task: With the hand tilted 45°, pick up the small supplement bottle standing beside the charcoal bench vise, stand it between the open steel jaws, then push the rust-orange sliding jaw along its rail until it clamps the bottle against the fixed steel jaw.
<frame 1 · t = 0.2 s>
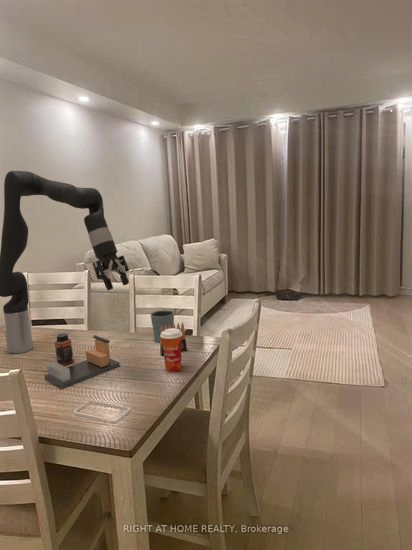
hand: (118, 287, 138), 31 cm above the table, tool tilted 20°, fingers open, 8 cm apart
paper cup: (173, 369, 143), on the table
supplement bottle: (65, 363, 153), on the table
sliding jaw: (98, 350, 147), point 6 cm above the table, slide at 0.0 cm
phone case: (102, 414, 115), on the table
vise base: (79, 374, 142), on the table
ammunition clip: (173, 353, 158), on the table
green embossed pot: (164, 340, 174), on the table
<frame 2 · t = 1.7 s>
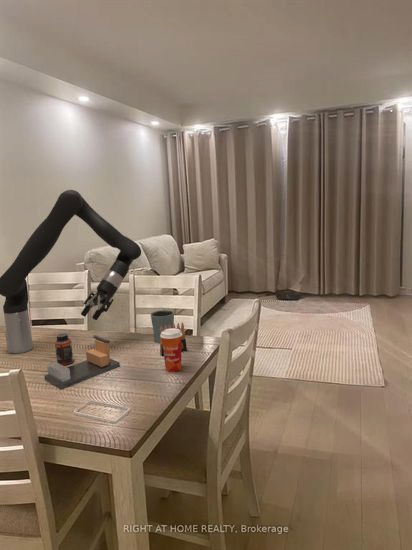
hand: (88, 317, 158), 15 cm above the table, tool tilted 45°, fingers open, 8 cm apart
nothing on the table moved.
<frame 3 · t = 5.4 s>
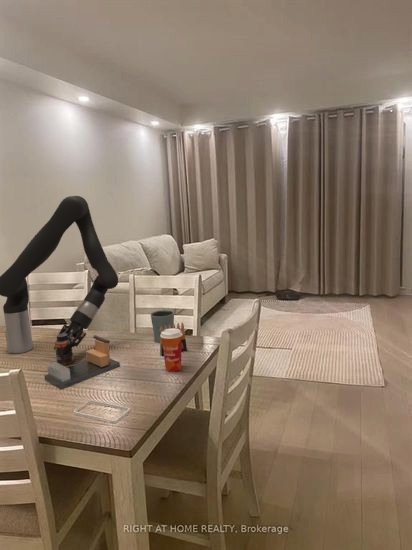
hand: (59, 352, 151), 5 cm above the table, tool tilted 45°, fingers closed on supplement bottle, 6 cm apart
supplement bottle: (65, 363, 153), on the table, touching gripper
everything else where it was.
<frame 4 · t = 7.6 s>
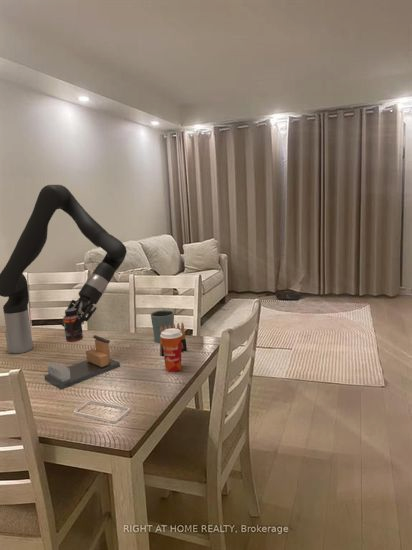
hand: (68, 328, 141), 17 cm above the table, tool tilted 45°, fingers closed on supplement bottle, 6 cm apart
supplement bottle: (75, 340, 143), point 11 cm above the table, touching gripper
everything else where it was.
when the fingers open (8 cm above the table, at t = 10.0 s): supplement bottle drops 1 cm, resting on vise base.
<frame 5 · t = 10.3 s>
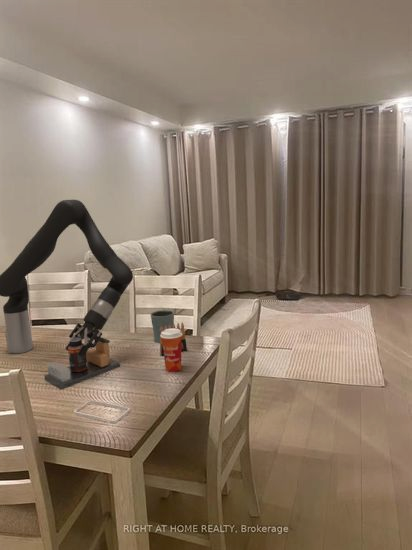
hand: (73, 353, 140), 8 cm above the table, tool tilted 45°, fingers open, 8 cm apart
supplement bottle: (79, 370, 142), point 1 cm above the table, touching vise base
everything else where it was.
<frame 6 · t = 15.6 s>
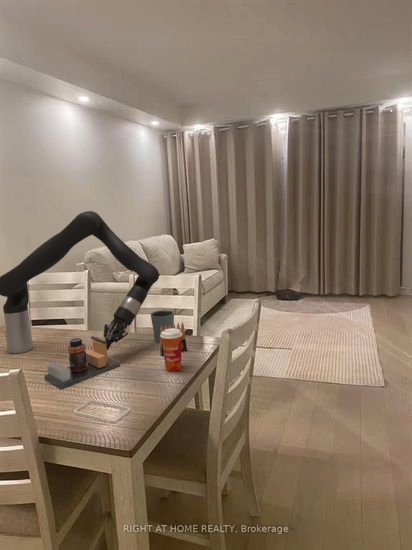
hand: (103, 349, 149), 6 cm above the table, tool tilted 45°, fingers closed
sliding jaw: (96, 351, 146), point 6 cm above the table, slide at 1.0 cm, touching gripper
everything else where it was.
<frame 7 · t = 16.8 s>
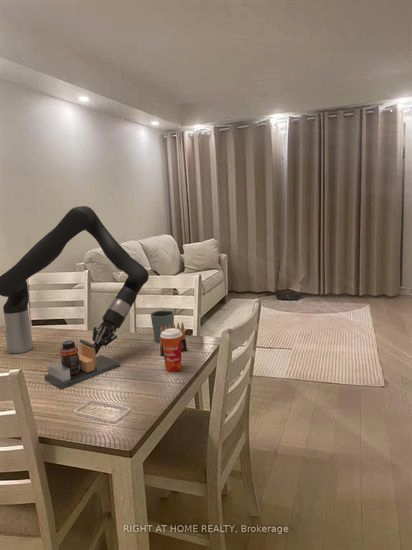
hand: (92, 353, 145), 6 cm above the table, tool tilted 45°, fingers closed
supplement bottle: (72, 372, 140), point 1 cm above the table, touching sliding jaw, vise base
sliding jaw: (84, 355, 143), point 6 cm above the table, slide at 5.7 cm, touching supplement bottle, gripper
everything else where it was.
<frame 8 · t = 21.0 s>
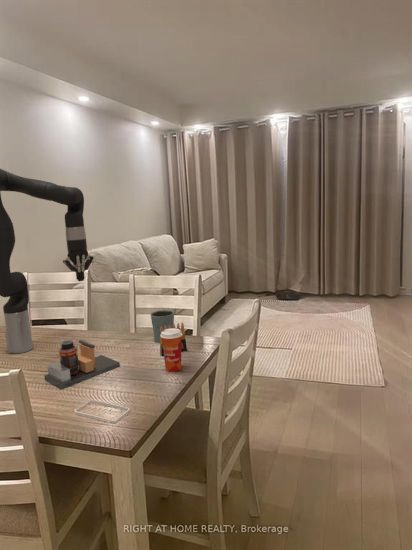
hand: (80, 280, 162), 29 cm above the table, tool pointing down, fingers closed
sliding jaw: (83, 355, 143), point 6 cm above the table, slide at 6.1 cm, touching supplement bottle
everything else where it was.
at the end: supplement bottle inside the target area on the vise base (3.1 cm from its centre), point 1.3 cm above the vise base's base; sliding jaw slide at 6.1 cm; supplement bottle tilted 0° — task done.
